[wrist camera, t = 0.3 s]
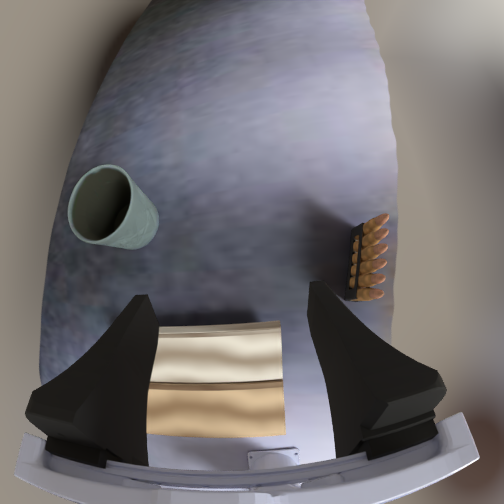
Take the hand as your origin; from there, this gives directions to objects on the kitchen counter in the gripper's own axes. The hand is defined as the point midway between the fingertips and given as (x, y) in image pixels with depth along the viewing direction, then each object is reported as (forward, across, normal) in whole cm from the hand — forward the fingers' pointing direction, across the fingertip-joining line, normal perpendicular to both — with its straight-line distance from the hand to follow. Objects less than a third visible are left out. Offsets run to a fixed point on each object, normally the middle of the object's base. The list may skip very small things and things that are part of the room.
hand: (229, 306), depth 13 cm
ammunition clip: (+23, -16, +17) cm, 33 cm away
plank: (+15, +7, +23) cm, 28 cm away
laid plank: (+10, +7, +32) cm, 34 cm away
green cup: (+30, +16, +11) cm, 36 cm away
